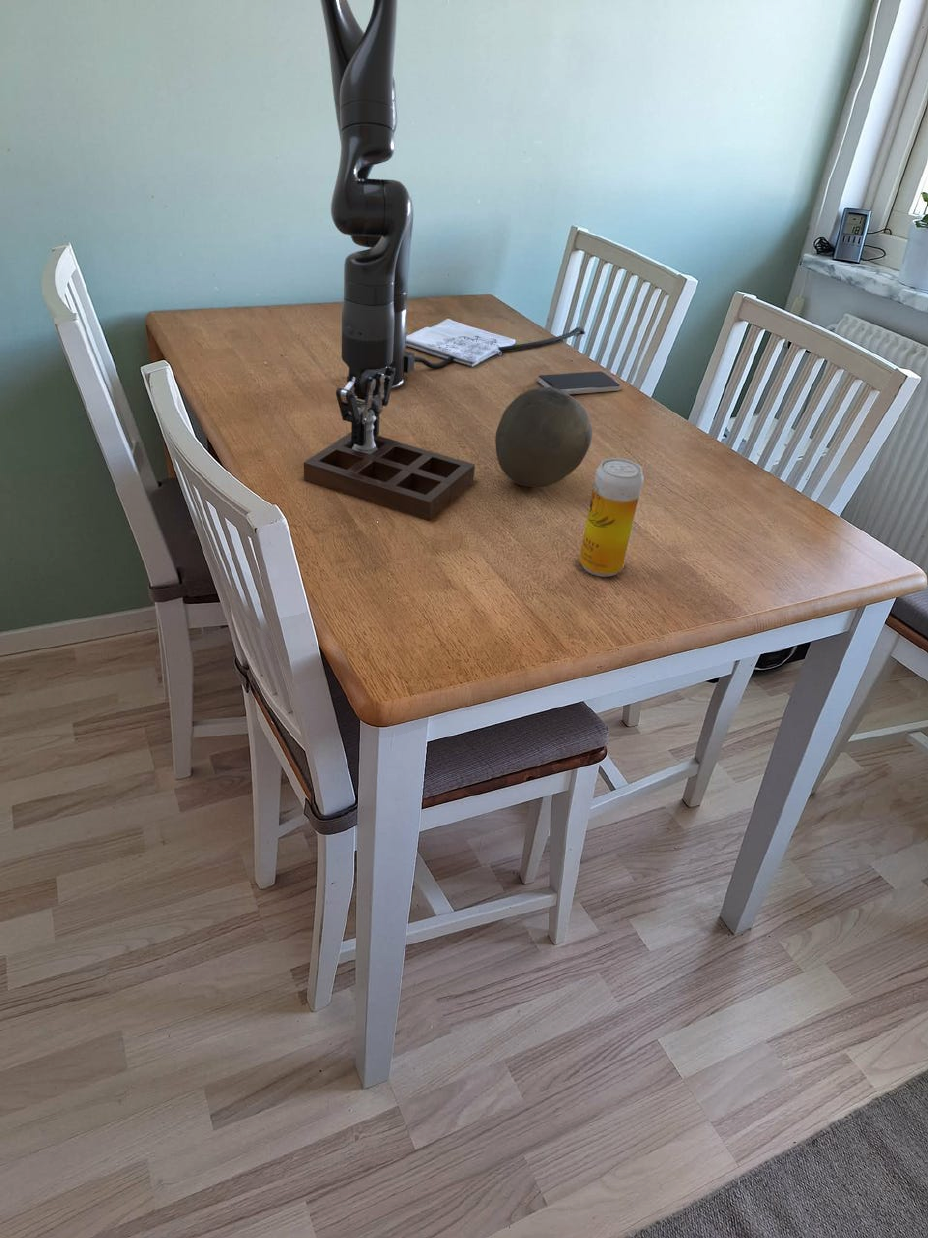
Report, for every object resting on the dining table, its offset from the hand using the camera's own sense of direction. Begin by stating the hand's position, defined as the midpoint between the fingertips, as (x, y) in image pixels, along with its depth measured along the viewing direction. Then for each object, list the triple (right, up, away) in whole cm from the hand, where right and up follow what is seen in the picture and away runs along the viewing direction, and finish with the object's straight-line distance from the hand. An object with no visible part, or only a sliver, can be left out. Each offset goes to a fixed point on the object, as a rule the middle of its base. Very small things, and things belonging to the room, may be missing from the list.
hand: (365, 438), depth 139 cm
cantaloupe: (+27, -7, +2) cm, 28 cm away
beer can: (+34, -21, -17) cm, 44 cm away
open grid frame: (+4, -7, -2) cm, 8 cm away
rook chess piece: (0, -3, +2) cm, 4 cm away
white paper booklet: (+15, +30, +51) cm, 61 cm away
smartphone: (+38, +18, +38) cm, 57 cm away
